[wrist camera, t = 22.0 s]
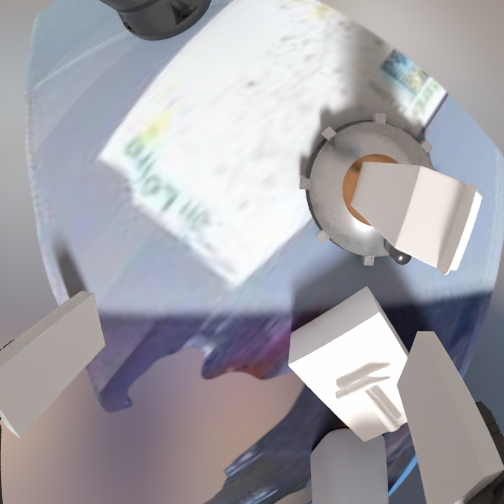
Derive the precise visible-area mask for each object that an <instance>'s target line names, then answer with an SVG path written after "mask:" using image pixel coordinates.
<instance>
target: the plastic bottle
mask: <svg viewBox="0 0 504 504" xmlns="http://www.w3.org/2000/svg"><path fill="white" fill-rule="evenodd" d="M311 476H312V504H388V483H387V465H386V452H385V441H384V437H383V435H382V434H381V435H379V436H377V437H375V438H373V439H370V440H368V441H366V442H364V441H363V440H362V439H360V438H359V437H358V436H357V435H356V434H355V433H354V432H353V431H352V430H351V429H345V428H343V429H337V430H334V431H331V432H329V433H328V434H327V435H326V436H325V437H324V438H323V439H322V440H321V442H320V443H319V444H318V445H317V447H316V448H315V449H314V450H313V452H312V453H311Z"/></svg>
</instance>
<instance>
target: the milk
mask: <svg viewBox="0 0 504 504" xmlns="http://www.w3.org/2000/svg"><path fill="white" fill-rule="evenodd" d="M481 200H482V195H480V194H479V193H478V192H477V187H476V186H474V185H471V184H466V183H464V182H461V181H459V180H457V179H454V178H452V177H449V176H447V175H445V174H442V173H440V172H437V171H435V170H432V169H429V168H427V167H424V166H420V165H408V164H395V163H379V162H363V164H362V167H361V171H360V174H359V178H358V181H357V185H356V188H355V191H354V195H353V198H352V201H351V206H352V207H353V208H354V209H355V210H356V211H357V212H358V213H360V214H361V215H362V216H363V217H364V218H365V219H366V220H367V221H368V222H369V223H370V224H371V225H372V226H373V227H374V228H375V229H376V230H377V231H378V232H379V233H380V234H381V235H382V236H383V237H384V238H385V239H386V240H387V241H388V242H389V243H390V244H391V245H392V246H393V247H394V248H396V249H398V250H400V251H402V252H404V253H406V254H409V255H411V256H413V257H415V258H417V259H419V260H421V261H423V262H425V263H428V264H430V265H432V266H434V267H436V268H437V269H438V270H439V271H440V272H442V273H443V274H444V275H447V274H448V273H449V271H450V270H457V268H458V266H459V263H460V261H461V258H462V256H463V253H464V251H465V248H466V245H467V243H468V240H469V237H470V234H471V232H472V229H473V226H474V223H475V220H476V216H477V213H478V210H479V207H480V203H481Z"/></svg>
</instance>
